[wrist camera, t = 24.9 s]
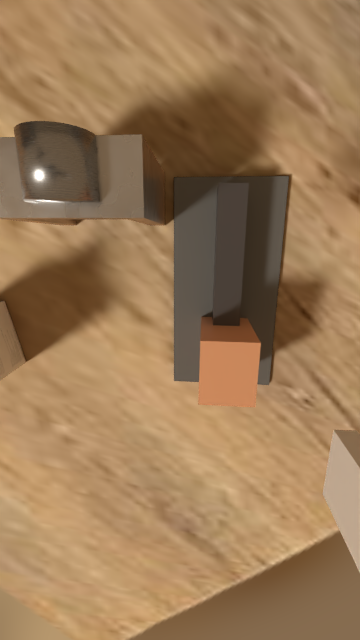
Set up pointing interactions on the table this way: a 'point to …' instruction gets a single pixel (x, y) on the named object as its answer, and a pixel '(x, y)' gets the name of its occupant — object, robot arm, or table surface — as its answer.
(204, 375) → the plug
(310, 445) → the table surface
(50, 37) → the table surface
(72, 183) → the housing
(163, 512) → the table surface
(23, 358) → the ink box
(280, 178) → the mat
